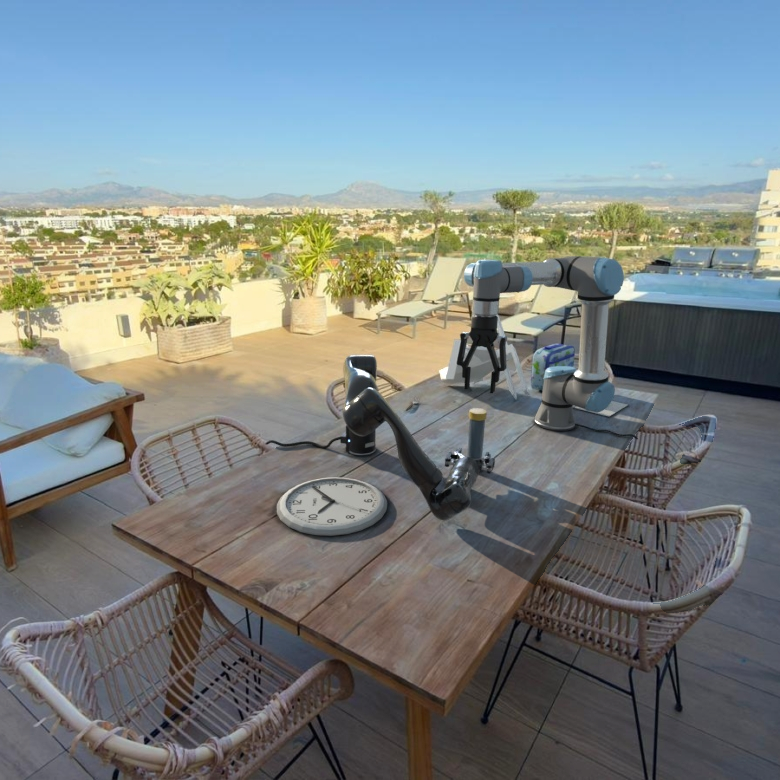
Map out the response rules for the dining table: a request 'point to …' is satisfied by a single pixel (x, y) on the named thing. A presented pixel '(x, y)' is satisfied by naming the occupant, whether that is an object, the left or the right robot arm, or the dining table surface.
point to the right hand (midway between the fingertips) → (479, 390)
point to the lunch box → (550, 361)
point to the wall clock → (331, 506)
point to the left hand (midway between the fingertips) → (473, 452)
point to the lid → (477, 414)
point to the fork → (413, 403)
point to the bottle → (476, 438)
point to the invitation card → (608, 408)
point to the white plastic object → (482, 365)
